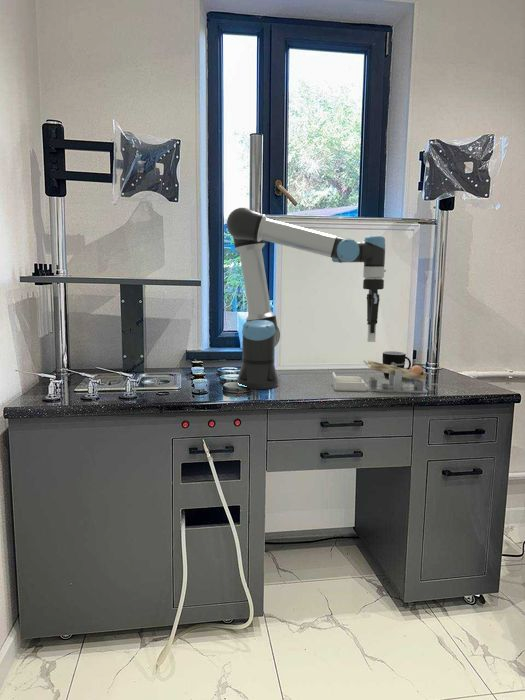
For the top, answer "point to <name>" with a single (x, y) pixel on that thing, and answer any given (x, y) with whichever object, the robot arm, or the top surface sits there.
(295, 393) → the top surface
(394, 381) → the stand
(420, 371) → the ball
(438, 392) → the top surface
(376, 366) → the wooden ramp
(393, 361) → the mug
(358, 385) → the dish
